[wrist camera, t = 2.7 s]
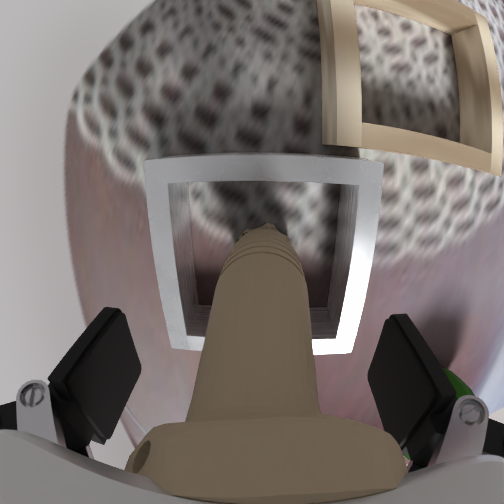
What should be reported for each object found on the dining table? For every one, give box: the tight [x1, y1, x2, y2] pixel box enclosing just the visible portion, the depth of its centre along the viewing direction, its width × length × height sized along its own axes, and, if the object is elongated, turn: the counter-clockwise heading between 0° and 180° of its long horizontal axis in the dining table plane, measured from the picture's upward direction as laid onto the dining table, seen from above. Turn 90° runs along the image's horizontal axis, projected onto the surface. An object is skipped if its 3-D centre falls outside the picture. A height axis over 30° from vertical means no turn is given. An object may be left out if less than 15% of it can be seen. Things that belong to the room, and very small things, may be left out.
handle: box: [125, 223, 408, 504], centre depth 10 cm, size 5×6×15 cm
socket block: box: [144, 152, 384, 354], centre depth 15 cm, size 11×11×4 cm
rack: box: [317, 0, 503, 176], centre depth 10 cm, size 11×11×4 cm
